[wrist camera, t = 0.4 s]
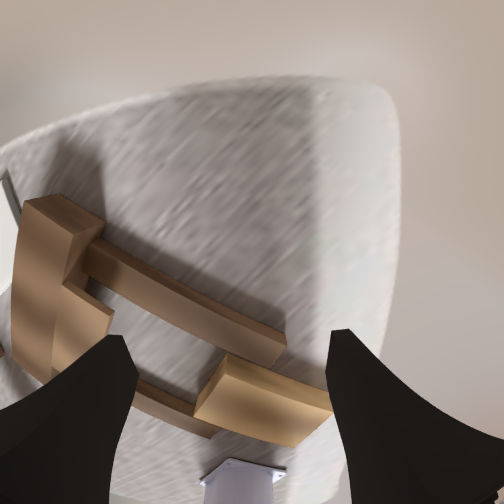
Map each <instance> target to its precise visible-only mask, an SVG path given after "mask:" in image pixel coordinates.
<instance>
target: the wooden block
mask: <svg viewBox="0 0 504 504" xmlns="http://www.w3.org/2000/svg"><path fill="white" fill-rule="evenodd" d="M3 355H4V351H3V349H2V348H1V346H0V358H1V357H2V356H3Z"/></svg>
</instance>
